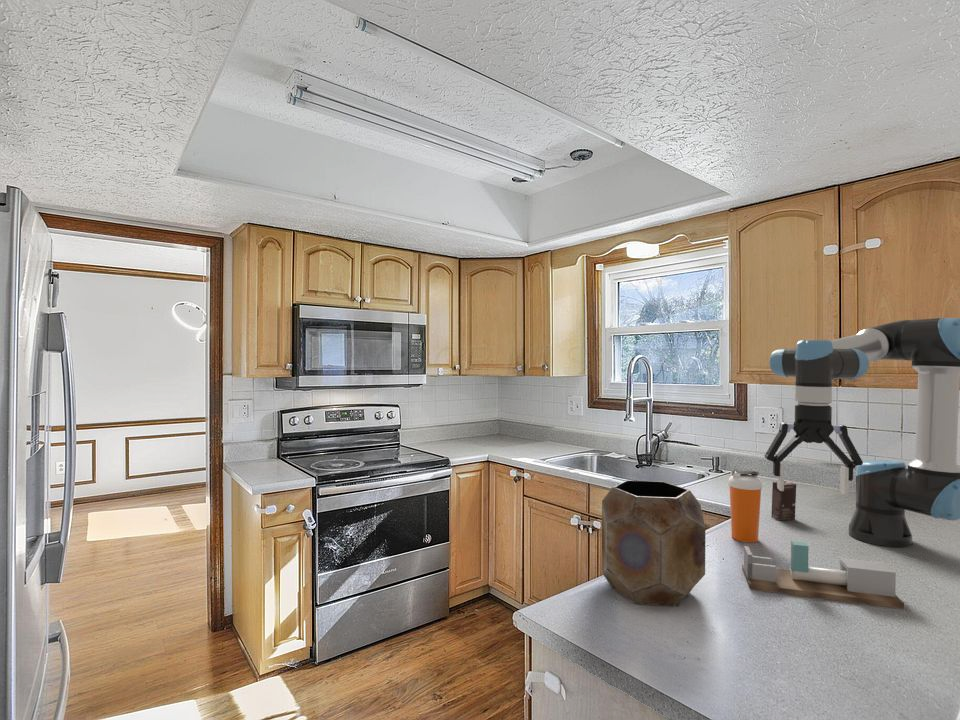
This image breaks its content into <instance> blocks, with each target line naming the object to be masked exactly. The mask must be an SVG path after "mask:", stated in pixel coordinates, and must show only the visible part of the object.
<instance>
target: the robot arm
mask: <svg viewBox="0 0 960 720" xmlns="http://www.w3.org/2000/svg"><path fill="white" fill-rule="evenodd" d="M879 360H881V361H883V360H889V361H892V360H893V361H911V368H912V369H913V370H914V371H915V372H917V375H918V376H917V400H916V401H917V402H916V419H915V421H916V423H915V425H916V426H915V449H914V450H915V451H914V453H915V454H914V459H913V460H911V461H910V462H908V463H907V465H906V463H905V462H904V461H899V460H888V459H887V460H886V459H884V460H883V459H880V460H879V459H877V460H874V459H873V460H872V459H871V460H862V458H861V456H860V454H859V452H858V450H857V448H856V447H855V445H854V444H853V442H852V439H851V437H850V436H849V433H848V427H847V426H846V425H845V424H841V423H840V424H838V425H833V424H832V422H833V421H832V417H833V415H832V412H833V411H832V410H833V409H832V406H831V405H830V404H832V402H833V391H832V390H833V387H832V386H833V380H852V379H859V378H861V377H863V376H864V375H865V374H867V372H868V370H869V368H870V362H875V361H879ZM769 368H770V370H771V372H772V373H773V374H774V375H775V376H780V377H785V378H789V377H790V378H791V377H793V378H794V377H795V382H794V384H795V385H794V386H795V388H794V390H795V391H794V392H795V393H794V394H795V395H794V401H795V402H796V403H795V405H794V422H793V423H786V422H783V421H781V422H780V423H779V428H778V432H777V433H776V436H775V437H774V439H773V441H772V442H771V444H770V445H769V447H768V449H767V450H766V452H765V454H764V458H765V459H766V460H768V461H771V462H772V474H773V476H775V477H776V478H777V480H776V482H777V488H778V489H779V490H780V491H784V481H785V463H783V462H782V461H783V460H784V459H786V457H788V456H789V455H790V454H791V453H792V452H793V451H794V450H795V449H796V448H797V447H798V446H799V445H800V444H801V443H803V442H804V443H807V444H811V443H816V444H822V443H824V444H825V445H826V446H827V447H828V448H829V449H830V450H831V451H832V452H833V453H834V454H835V456H836V457H837V458H838V459H839V460H840V461H841V463H843V464H844V465H843V464H842V465H840V478H839V479H840V481H839V482H840V483H839V485H840V487H839V488H840V489H839V493H840V494H842V495H843V496H849V484H850V483H849V482H850V481H851V482H852V481H853V480H854V469H856V470H855V509H854V512H853V515H852V517H851V520H850V522H849V524H848V534H849V536H851V537H852V538H854V539H856V540H858V541H862V542H865V543H868V544H873V545H877V546H885V547H893V548H905V547H906V548H907V547H910V546H912V545H913V535H912V532H911V529H910V526H909V524H908V521H907V519H906V515H905V512H906V511H909V512H913V513H917V514H921V515H925V516H929V517H932V518H933V519H934V518H935V519H941V520H945V521H959V520H960V466H959V464H958V463H957V454H958V452H957V451H958V433H959V432H958V428H959V403H960V402H959V399H960V317H939V318H924V319H923V318H922V319H920V318H919V319H904V320H896V321H892V322H888V323H883V324H880V325H876V326H873V327H868V328H865V329H862V330H860V331H858V333H857V334H853V335H850V336H849V335H848V336H844V337H840V338H835V339H832V340H828V339H802V340H799V341H798V342H797V343H796V345H795V348H781V349H780V348H779V349H776V350H774V351H773V352H771V354H770V356H769ZM791 430H793V431H794V433H795V435H793V437H792V438H791V439H790V440H789V441H788V442H787V443H786V444H785V445H784V446H783V447H782V448H781V449H780V447H781V445H782V443H783V442H784V441H785V438H786V436H787V434H788V433H790V432H791ZM833 432H835V434H837V435H838V437H839V438H840V440H841V443H842V444H843V446H844V447H845V449H846V451H847V454H848V455H849V457H850V458H849V457H848V456H847V455H846V453H845V452H844V451H843V450H841V448H840V447H839V446H838V445H837V444H836V442H835V441H834V440H833V439H832V437H830V435H831V434H832V433H833ZM779 449H780V450H779ZM778 450H779V451H778Z"/></svg>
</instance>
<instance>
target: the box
mask: <svg viewBox="0 0 960 720" xmlns="http://www.w3.org/2000/svg"><path fill="white" fill-rule="evenodd" d="M771 492H772V493H771V495H772V496H771V518H772V519H775V520H778V521H788V520H789V521H790V520H791V521H792V520H796V502H797V484H796V483H793V482H790V481H788V480H786V481H785V480H784V491H780V490H779V489H778V488H777V481H773V482H772V491H771Z"/></svg>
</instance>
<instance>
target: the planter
mask: <svg viewBox="0 0 960 720" xmlns="http://www.w3.org/2000/svg"><path fill="white" fill-rule="evenodd" d="M601 573H602V575H603V577H604V578H605V579H606V581H607V583H608V584H609V585H610V587H611V588H612V589H614V590H615V591H616V592H618V593H619V594H621V595H622V596H624V597H625V598H626V599H628V600H629V601H631V602H632V603H634V604H635V605H645V606H647V605H649V606H663V607H679V605H681V603H682V602H683V601H684V600H685V598H686V597H687V596H688V595H689V594H690V592H691V591H692V590H693V589H694V587H695V586H696V585H697V584H698V583H699V582H700V581H701V580H702V579H703V578H704V576H705V575H706V525H705V519H704V515H703V511H702V506H701V503H700V502H699V501H698V499H697V497H695V495H694V493H693V492H692V490H690V489H687V488H685V487H682V486H678V485H675V484H672V483H669V482H667V481H666V482H665V481H658V480H655V481H653V480H625V481H623V482H620V483H619V484H617V485H614V486H613V487H611V489H610V490H609V491H608V493H607V494H606V495H605V496H604V497H603V499H602V500H601Z"/></svg>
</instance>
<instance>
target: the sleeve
mask: <svg viewBox="0 0 960 720" xmlns="http://www.w3.org/2000/svg"><path fill="white" fill-rule="evenodd" d="M839 570H842V571H847V591H852V592H860V593H868V594H876V595H884V596H892V597H895V595H896V586H897V585H896V584H897V583H896V582H897V581H896V579H897V574H896V571H894V570H893V569H892V568H891V567H890V565H888V564H887V563H886V562H882V561H881V562H880V561H870V560H863V559H852V558H844V557H840V558H839Z"/></svg>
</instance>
